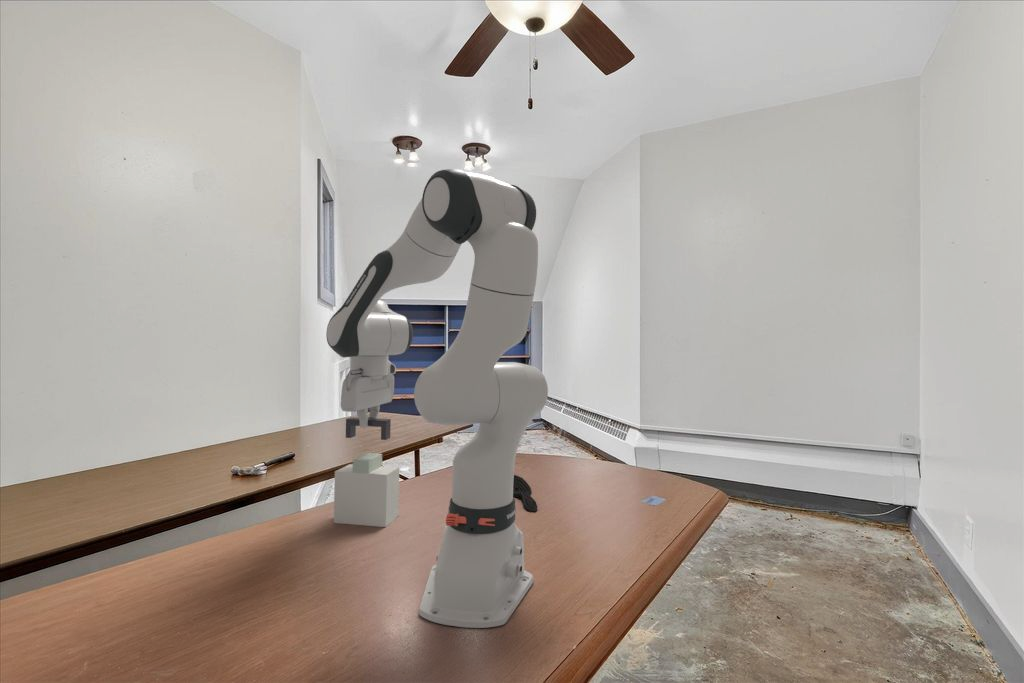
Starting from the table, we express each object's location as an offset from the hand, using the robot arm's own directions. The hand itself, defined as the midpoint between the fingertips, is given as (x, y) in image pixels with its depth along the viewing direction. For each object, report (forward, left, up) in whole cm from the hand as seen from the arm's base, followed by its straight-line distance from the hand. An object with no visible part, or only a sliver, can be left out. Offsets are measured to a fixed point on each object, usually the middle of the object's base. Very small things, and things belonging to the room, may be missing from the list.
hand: (368, 425), depth 113 cm
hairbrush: (+25, -34, -23) cm, 48 cm away
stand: (0, 0, -22) cm, 22 cm away
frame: (0, 0, -3) cm, 3 cm away
